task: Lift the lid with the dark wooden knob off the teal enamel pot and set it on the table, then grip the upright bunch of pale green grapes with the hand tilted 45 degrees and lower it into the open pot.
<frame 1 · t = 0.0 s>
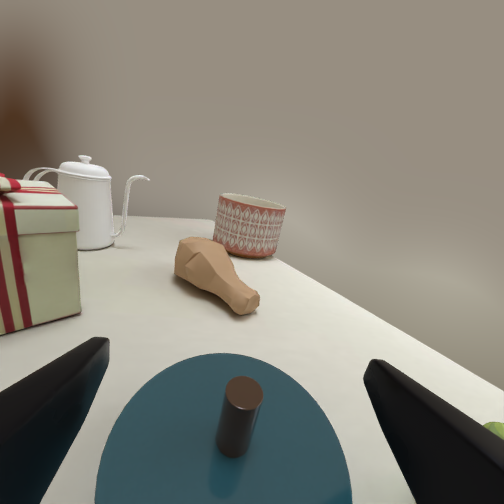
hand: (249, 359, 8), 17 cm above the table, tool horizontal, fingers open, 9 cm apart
planter: (243, 249, 73), on the table
squash: (214, 291, 46), on the table
coffeepot: (89, 243, 55), on the table
pot lid: (231, 443, 16), point 5 cm above the table, touching pot
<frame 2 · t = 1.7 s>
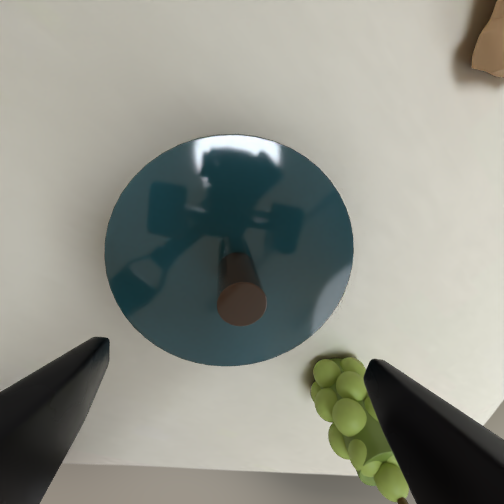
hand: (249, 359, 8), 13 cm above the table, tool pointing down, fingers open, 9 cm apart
pot lid: (236, 266, 16), point 5 cm above the table, touching pot
grapes: (332, 372, 27), on the table
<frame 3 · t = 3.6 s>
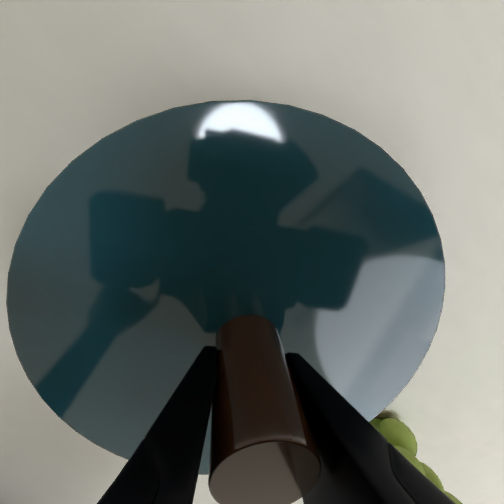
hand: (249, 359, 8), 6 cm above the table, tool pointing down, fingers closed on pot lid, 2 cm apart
pot lid: (246, 332, 9), point 5 cm above the table, touching gripper, pot
grapes: (366, 434, 20), on the table
when the fingers open (2 cm above the table, at t = 8.8 s): pot lid stays where it is, point 1 cm above the table.
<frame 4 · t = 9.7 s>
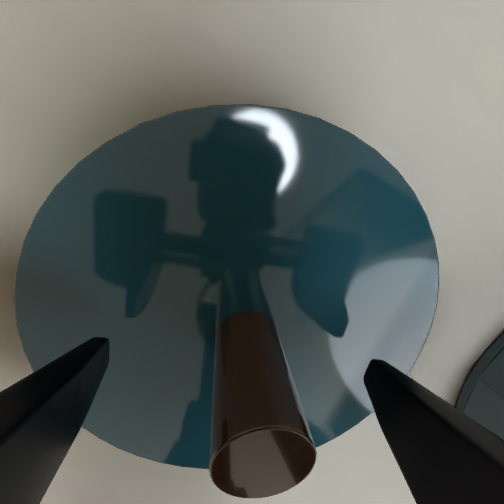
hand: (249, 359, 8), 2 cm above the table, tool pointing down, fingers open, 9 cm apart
pot lid: (245, 329, 10), point 1 cm above the table
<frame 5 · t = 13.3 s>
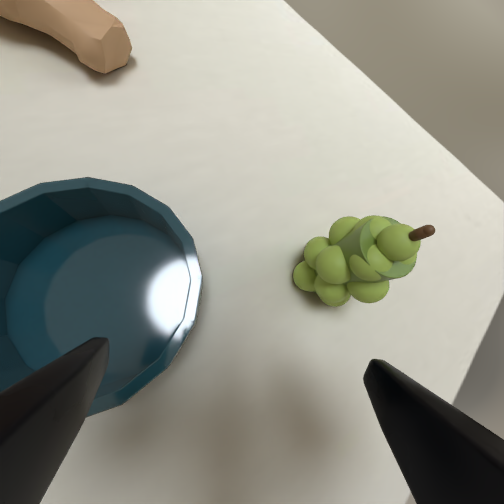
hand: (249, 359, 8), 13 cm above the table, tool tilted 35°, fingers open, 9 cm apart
squash: (50, 22, 25), on the table
pot: (108, 293, 19), on the table
grapes: (319, 273, 24), on the table
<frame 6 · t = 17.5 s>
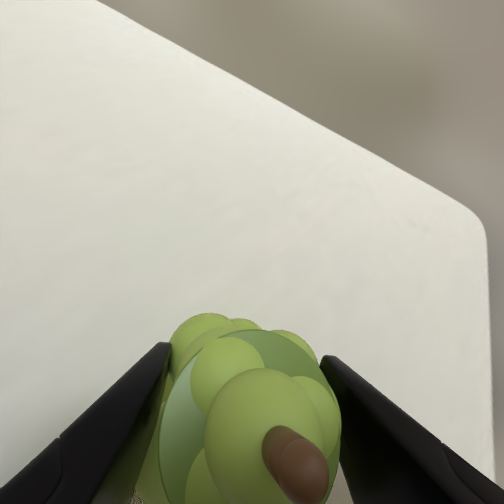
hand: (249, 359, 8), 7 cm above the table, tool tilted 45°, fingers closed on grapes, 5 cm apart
grapes: (221, 391, 13), on the table, touching gripper
when the fingers open (7 cm above the table, at t = 24.8 s): grapes stays where it is, resting on pot.
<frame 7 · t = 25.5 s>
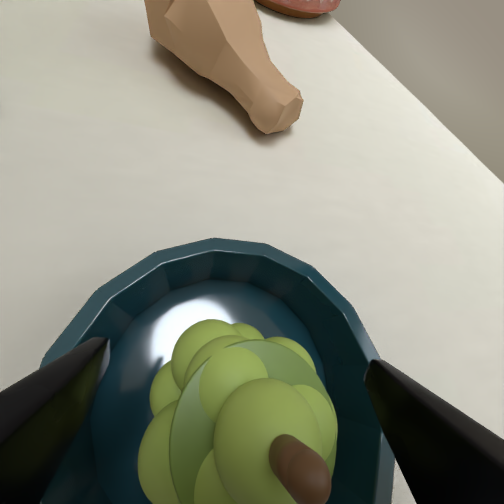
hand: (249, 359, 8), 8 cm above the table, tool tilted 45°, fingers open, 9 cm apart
squash: (224, 82, 27), on the table
pot: (221, 388, 14), on the table
grapes: (219, 392, 14), resting on pot
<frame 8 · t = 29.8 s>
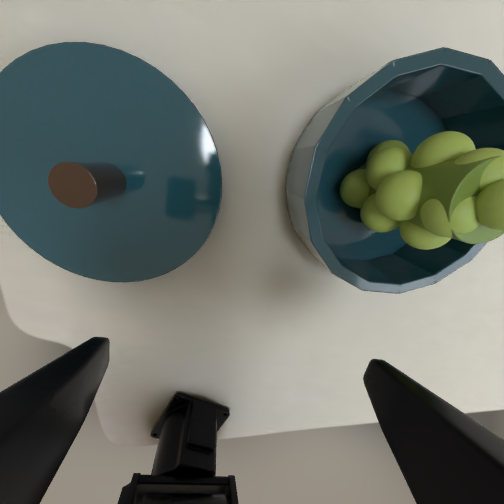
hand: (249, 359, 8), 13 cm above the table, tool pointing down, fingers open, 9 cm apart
pot: (371, 184, 20), on the table
pot lid: (111, 180, 17), point 1 cm above the table
grapes: (372, 186, 20), resting on pot
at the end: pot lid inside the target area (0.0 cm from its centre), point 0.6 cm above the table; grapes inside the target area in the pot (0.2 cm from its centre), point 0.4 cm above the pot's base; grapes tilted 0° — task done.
